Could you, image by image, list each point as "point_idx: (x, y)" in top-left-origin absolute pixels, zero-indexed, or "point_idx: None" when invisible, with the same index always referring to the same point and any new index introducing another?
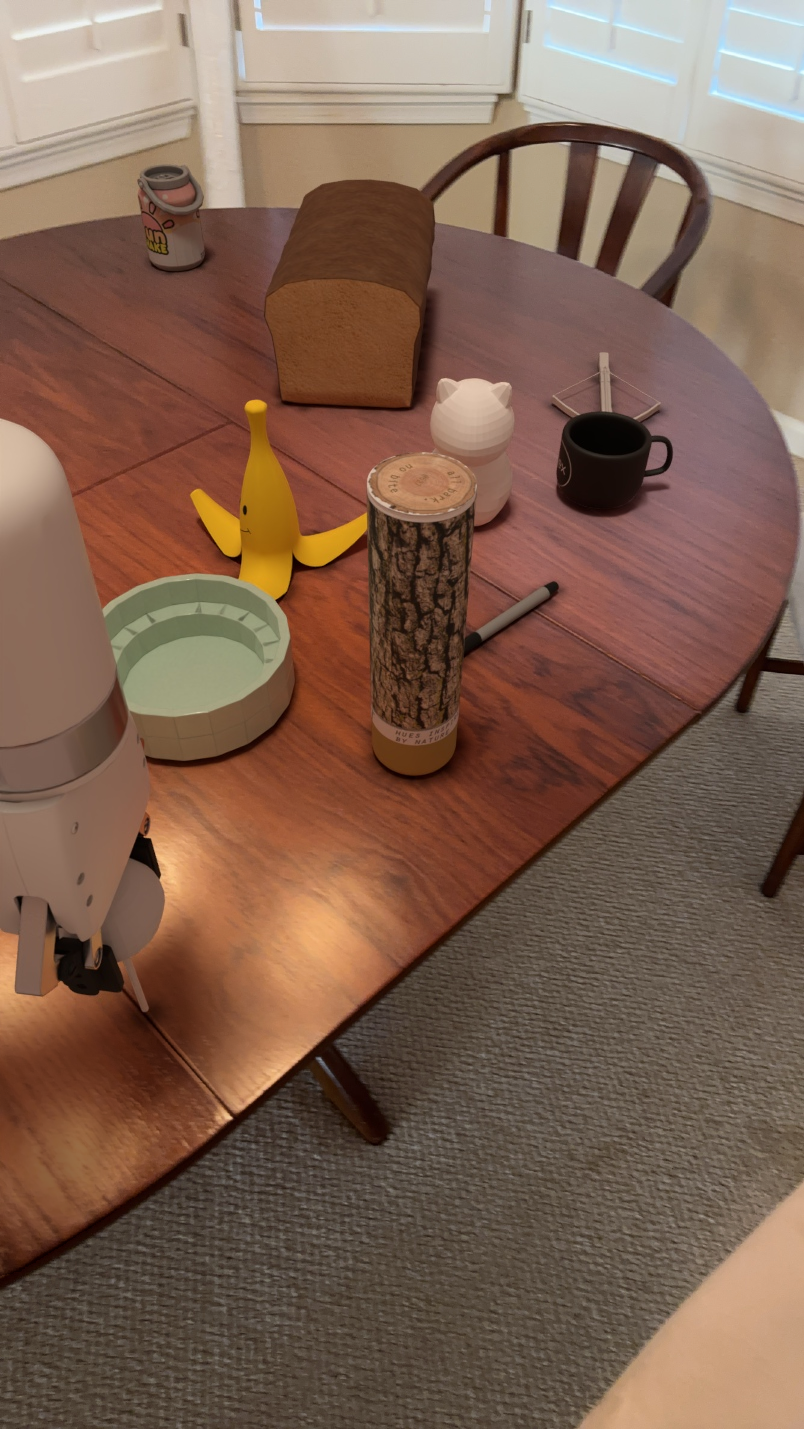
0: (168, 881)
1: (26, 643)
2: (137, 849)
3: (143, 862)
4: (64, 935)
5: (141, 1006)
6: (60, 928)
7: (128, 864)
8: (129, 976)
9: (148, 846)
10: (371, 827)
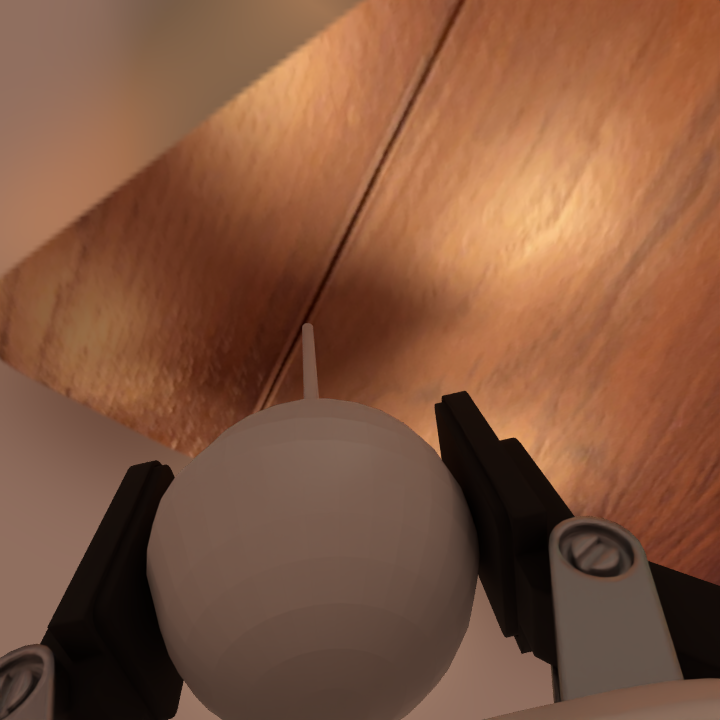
0: (526, 242)
1: None
2: (504, 623)
3: (480, 569)
4: (155, 580)
5: (302, 334)
6: (164, 572)
7: (433, 686)
8: (303, 377)
9: (519, 648)
10: (651, 468)
